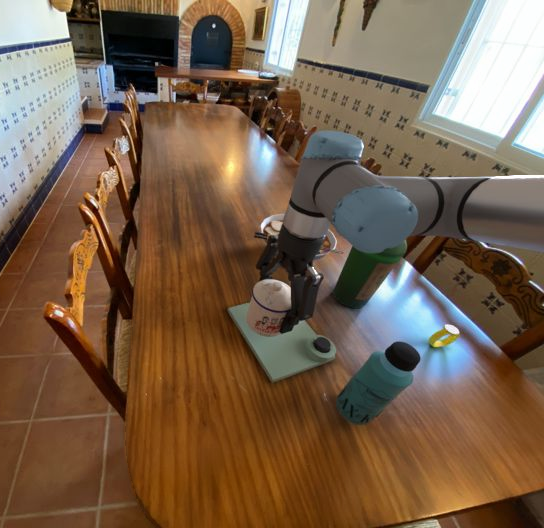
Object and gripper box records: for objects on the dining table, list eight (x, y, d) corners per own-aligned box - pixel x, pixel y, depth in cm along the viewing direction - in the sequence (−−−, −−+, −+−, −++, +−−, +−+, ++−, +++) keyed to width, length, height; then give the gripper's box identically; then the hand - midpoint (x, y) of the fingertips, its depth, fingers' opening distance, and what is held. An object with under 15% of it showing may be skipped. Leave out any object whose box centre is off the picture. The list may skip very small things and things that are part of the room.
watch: (442, 338, 71) (458, 322, 68) (452, 348, 69) (469, 332, 65) (421, 341, 70) (436, 325, 67) (430, 351, 68) (446, 335, 64)
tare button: (331, 350, 63) (333, 346, 62) (320, 354, 62) (322, 350, 61) (321, 339, 65) (324, 335, 64) (310, 343, 64) (313, 338, 63)
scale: (336, 361, 64) (342, 353, 62) (273, 385, 59) (276, 377, 57) (282, 296, 79) (285, 288, 77) (227, 311, 73) (229, 302, 71)
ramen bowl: (329, 241, 101) (338, 220, 96) (334, 284, 84) (346, 262, 79) (256, 225, 105) (261, 205, 100) (247, 264, 88) (252, 241, 83)
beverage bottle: (329, 391, 59) (376, 328, 46) (364, 399, 58) (421, 337, 45) (334, 425, 54) (389, 365, 41) (373, 434, 53) (440, 376, 40)
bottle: (371, 317, 75) (437, 223, 57) (327, 304, 77) (377, 210, 60) (368, 290, 83) (425, 200, 65) (328, 279, 85) (372, 189, 68)
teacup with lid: (250, 339, 62) (262, 301, 55) (240, 307, 69) (250, 269, 62) (304, 337, 64) (323, 299, 56) (289, 305, 71) (304, 268, 63)
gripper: (369, 262, 45) (318, 349, 59) (285, 197, 60) (261, 278, 74) (330, 272, 42) (287, 360, 57) (253, 201, 58) (234, 285, 72)
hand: (272, 314), depth 65 cm, fingers closed on teacup with lid, 9 cm apart
